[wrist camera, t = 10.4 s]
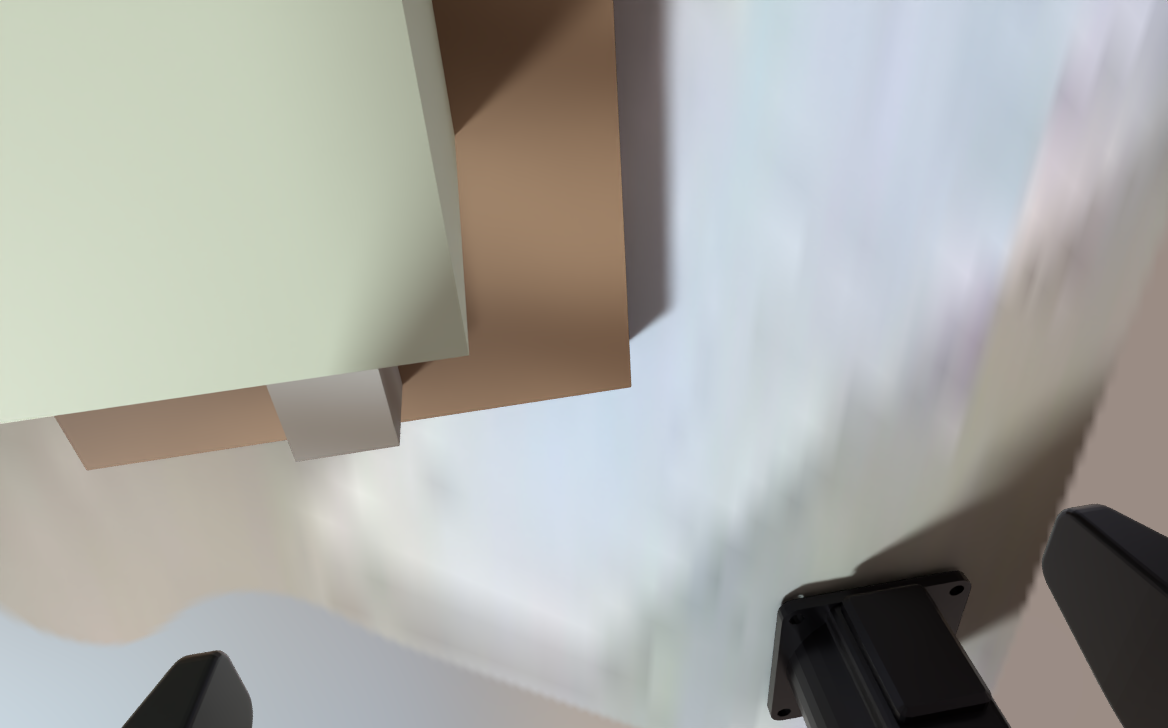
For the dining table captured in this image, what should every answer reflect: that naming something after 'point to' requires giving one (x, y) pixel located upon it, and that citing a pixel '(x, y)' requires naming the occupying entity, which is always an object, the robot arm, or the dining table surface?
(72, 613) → the dining table surface
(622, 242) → the cleat board
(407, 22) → the block
